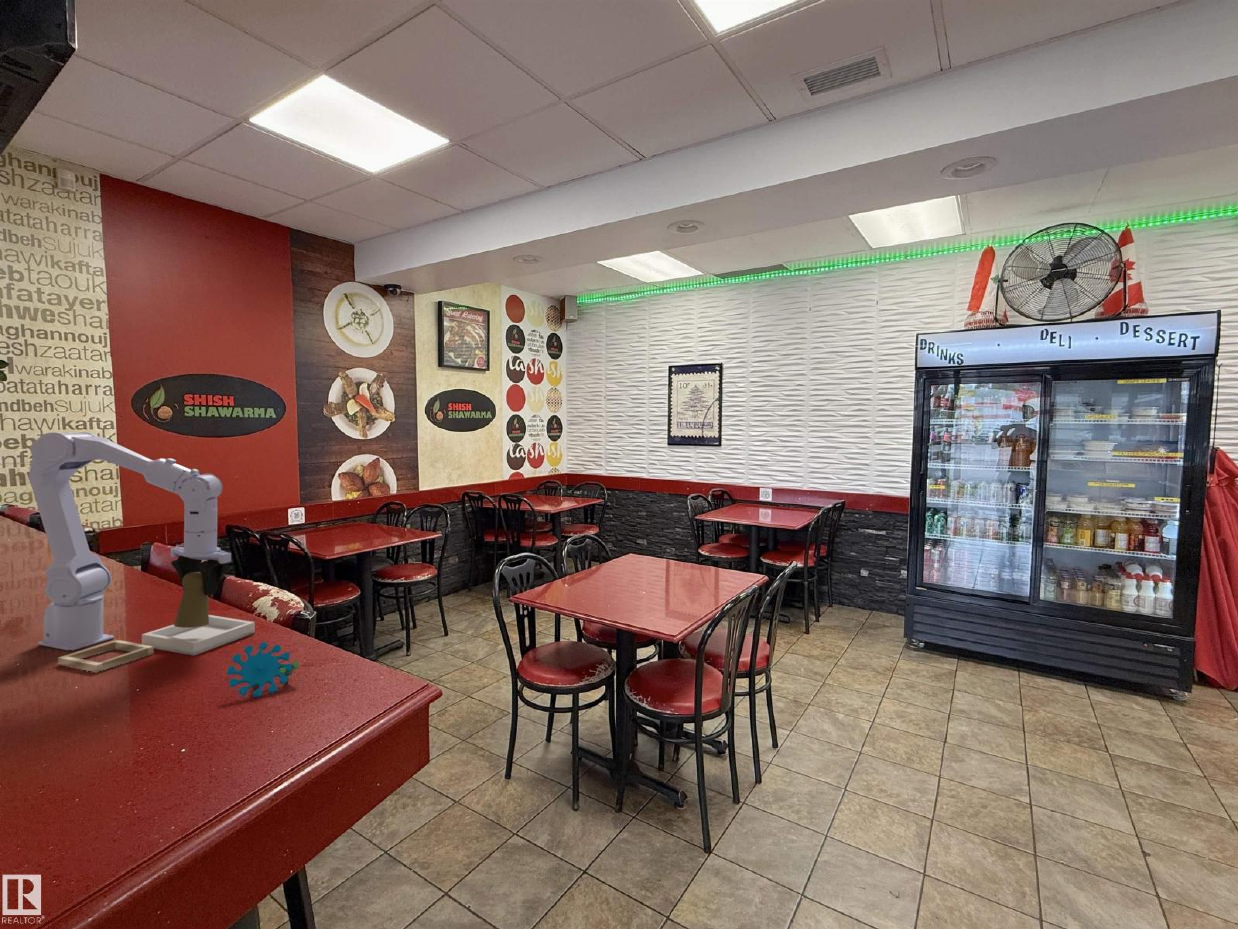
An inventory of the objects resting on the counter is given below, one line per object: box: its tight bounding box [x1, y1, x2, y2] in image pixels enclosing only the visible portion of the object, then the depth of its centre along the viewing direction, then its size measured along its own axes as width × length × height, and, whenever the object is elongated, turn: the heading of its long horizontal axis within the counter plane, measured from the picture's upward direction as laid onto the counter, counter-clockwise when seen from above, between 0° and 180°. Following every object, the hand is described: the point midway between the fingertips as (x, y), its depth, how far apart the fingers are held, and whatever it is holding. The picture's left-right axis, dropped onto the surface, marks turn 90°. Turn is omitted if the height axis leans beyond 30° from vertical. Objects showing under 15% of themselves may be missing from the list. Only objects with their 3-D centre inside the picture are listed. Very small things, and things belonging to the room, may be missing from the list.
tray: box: [141, 614, 256, 657], centre depth 121 cm, size 14×14×2 cm
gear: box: [226, 641, 300, 698], centre depth 101 cm, size 11×6×10 cm
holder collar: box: [57, 639, 155, 674], centre depth 109 cm, size 10×10×2 cm
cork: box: [173, 571, 210, 628], centre depth 120 cm, size 6×6×11 cm
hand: (200, 592), depth 121 cm, fingers closed on cork, 5 cm apart
